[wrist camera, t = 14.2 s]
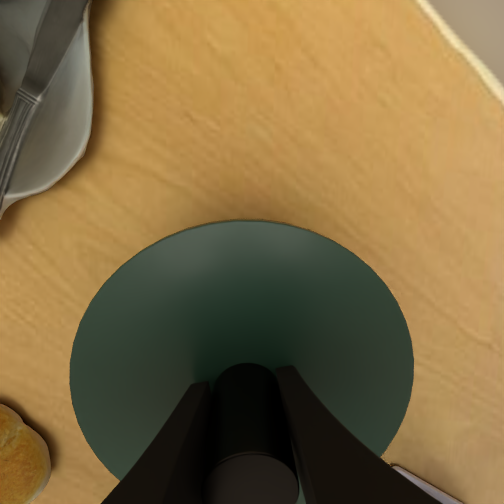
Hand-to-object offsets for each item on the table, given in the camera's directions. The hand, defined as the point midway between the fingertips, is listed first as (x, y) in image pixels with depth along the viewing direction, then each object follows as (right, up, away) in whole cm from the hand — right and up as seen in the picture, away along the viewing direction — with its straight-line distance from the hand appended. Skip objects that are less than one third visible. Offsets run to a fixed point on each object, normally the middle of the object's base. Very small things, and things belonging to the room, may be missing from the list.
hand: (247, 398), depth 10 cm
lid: (0, 0, +1) cm, 1 cm away
